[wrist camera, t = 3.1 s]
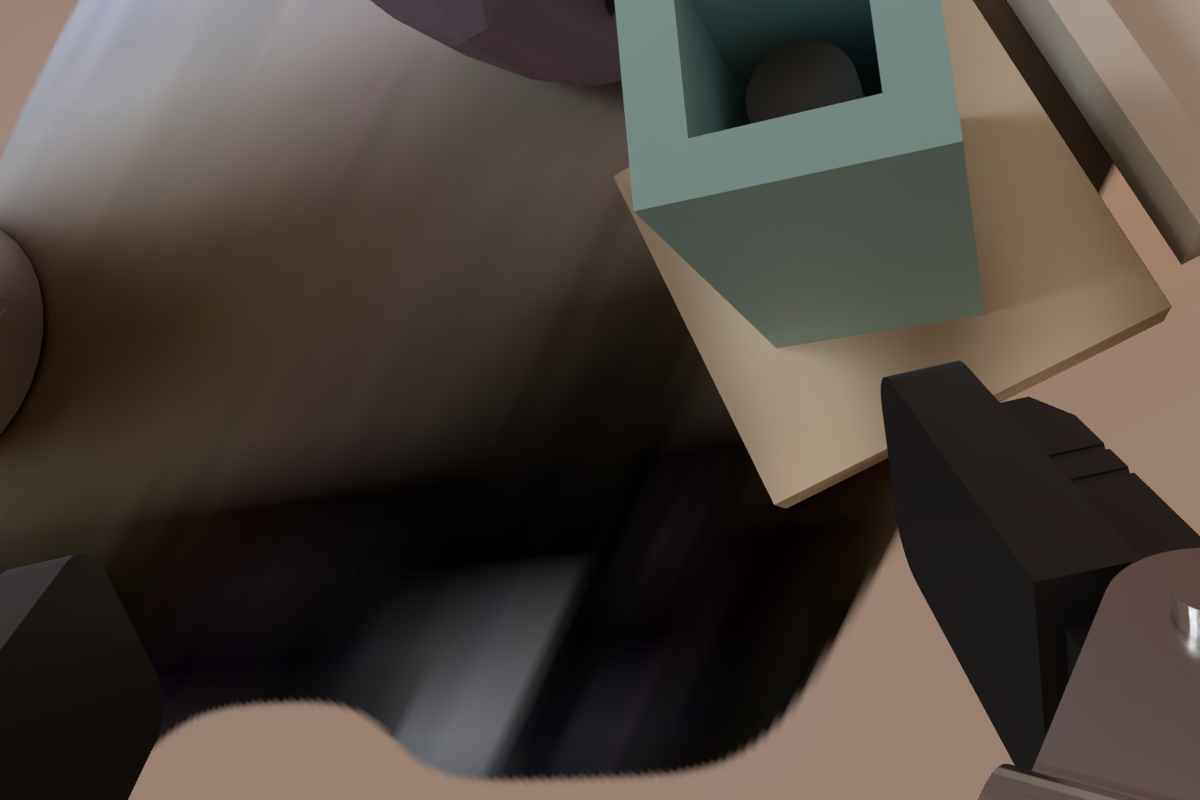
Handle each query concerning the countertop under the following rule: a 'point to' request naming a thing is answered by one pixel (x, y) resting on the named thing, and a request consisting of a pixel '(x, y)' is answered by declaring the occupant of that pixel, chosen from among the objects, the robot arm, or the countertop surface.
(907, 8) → the sleeve
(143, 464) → the countertop surface
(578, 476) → the countertop surface
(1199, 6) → the tray
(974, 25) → the stand
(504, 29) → the headphones
